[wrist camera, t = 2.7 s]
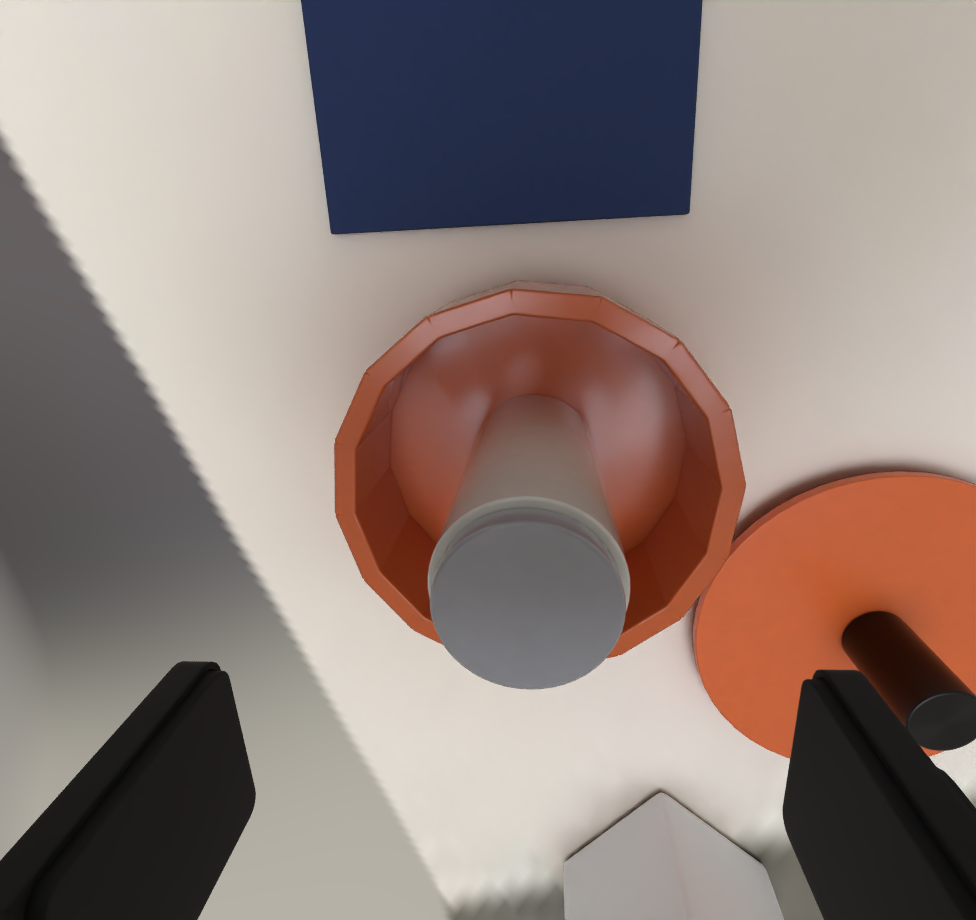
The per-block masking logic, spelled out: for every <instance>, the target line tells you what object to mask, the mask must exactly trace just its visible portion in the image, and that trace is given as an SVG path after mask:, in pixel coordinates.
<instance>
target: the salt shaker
mask: <svg viewBox="0 0 976 920" xmlns="http://www.w3.org/2000/svg"><path fill="white" fill-rule="evenodd" d="M630 590H631V589H630V575H629V570H628V565H627V561H626V558H625V554H624V550H623V546H622V543H621V539H620V535H619V531H618V528H617V524H616V520H615V516H614V513H613V509H612V505H611V501H610V498H609V494H608V490H607V486H606V483H605V479H604V475H603V471H602V468H601V464H600V460H599V456H598V453H597V449H596V445H595V441H594V438H593V435H592V432H591V430H590V428H589V426H588V424H587V423H586V421H585V420H584V418H583V417H582V416H581V415H580V414H579V413H578V412H577V411H576V410H575V409H574V408H572V407H571V406H569V405H568V404H566V403H565V402H563V401H560V400H558V399H555V398H552V397H549V396H543V395H526V396H520V397H516V398H513V399H510V400H508V401H506V402H504V403H502V404H501V405H499V406H498V407H496V408H495V409H494V410H493V411H491V412H490V413H489V414H488V416H487V417H486V418H485V419H484V421H483V422H482V424H481V425H480V427H479V429H478V432H477V434H476V437H475V439H474V442H473V445H472V448H471V450H470V453H469V456H468V458H467V461H466V464H465V467H464V469H463V472H462V475H461V477H460V480H459V483H458V486H457V488H456V491H455V494H454V497H453V499H452V502H451V505H450V507H449V510H448V513H447V516H446V518H445V521H444V524H443V526H442V529H441V532H440V535H439V537H438V540H437V543H436V545H435V548H434V551H433V554H432V557H431V560H430V564H429V569H428V593H429V598H430V610H431V616H432V620H433V624H434V627H435V630H436V632H437V634H438V636H439V638H440V640H441V642H442V643H443V645H444V646H445V648H446V649H447V650H448V652H449V653H450V654H451V655H452V656H453V657H454V658H455V659H456V660H457V661H458V662H459V663H460V664H461V665H462V666H464V667H465V668H466V669H468V670H469V671H471V672H472V673H474V674H476V675H477V676H479V677H481V678H483V679H485V680H488V681H490V682H493V683H496V684H499V685H502V686H506V687H512V688H518V689H544V688H552V687H556V686H560V685H564V684H567V683H569V682H572V681H575V680H577V679H579V678H581V677H583V676H585V675H586V674H588V673H589V672H591V671H592V670H594V669H595V668H596V667H597V666H598V665H599V664H601V663H602V662H603V661H604V660H605V659H606V657H607V656H608V655H609V654H610V653H611V651H612V650H613V648H614V646H615V645H616V643H617V641H618V639H619V637H620V635H621V632H622V629H623V626H624V622H625V615H626V611H627V607H628V604H629V599H630Z"/></svg>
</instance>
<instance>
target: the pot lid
mask: <svg viewBox="0 0 976 920" xmlns="http://www.w3.org/2000/svg"><path fill="white" fill-rule="evenodd" d="M693 648H694V655H695V661H696V665H697V668H698V671H699V674H700V677H701V680H702V682H703V685H704V687H705V689H706V691H707V693H708V695H709V697H710V699H711V700H712V702H713V703H714V705H715V706H716V707H717V709H718V710H719V711H720V713H721V714H722V715H723V716H724V717H725V718H726V719H727V720H728V721H729V722H730V723H731V724H732V725H733V726H734V727H735V728H736V729H737V730H738V731H740V732H741V733H742V734H744V735H745V736H746V737H748V738H749V739H750V740H752V741H754V742H755V743H757V744H759V745H761V746H762V747H764V748H766V749H768V750H770V751H773V752H775V753H777V754H780V755H782V756H784V757H787V758H790V757H791V751H792V744H793V738H794V731H795V725H796V718H797V712H798V705H799V699H800V692H801V686H802V682H803V681H804V680H806V679H812V678H813V674H814V673H815V671H816V670H820V669H824V670H857V671H860V672H861V673H862V674H863V675H864V676H865V677H866V678H867V679H868V680H869V682H870V683H871V684H872V686H873V687H874V688H875V689H876V691H877V692H878V693H879V694H880V696H881V697H882V698H883V700H884V701H885V702H886V703H887V705H888V706H889V707H890V708H891V710H892V711H893V712H894V714H895V715H896V716H897V717H898V719H899V720H900V721H901V722H902V724H903V725H904V726H905V728H906V729H907V730H908V731H909V733H910V734H911V735H912V736H913V738H914V739H915V740H916V742H917V743H918V744H919V745H920V747H921V748H922V749H923V751H924V752H925V753H926V754H927V756H928V757H929V756H932V755H935V754H938V753H941V752H943V751H946V750H953V749H957V748H960V747H962V746H965V745H967V744H969V743H970V742H972V741H973V740H975V739H976V485H975V484H973V483H970V482H966V481H963V480H960V479H957V478H953V477H950V476H944V475H938V474H932V473H926V472H905V471H896V472H882V473H870V474H865V475H859V476H854V477H848V478H844V479H841V480H838V481H834V482H831V483H827V484H824V485H821V486H818V487H816V488H814V489H811V490H809V491H807V492H804V493H802V494H799V495H797V496H795V497H793V498H792V499H790V500H788V501H786V502H784V503H783V504H781V505H779V506H777V507H775V508H774V509H772V510H771V511H770V512H768V513H767V514H765V515H764V516H763V517H761V518H760V519H758V520H757V521H756V522H754V523H753V524H752V525H751V526H750V527H749V528H748V529H747V530H745V531H744V532H743V533H742V534H741V535H740V536H739V537H738V538H737V539H736V540H735V541H734V542H733V543H732V545H731V548H730V552H729V556H728V559H726V562H725V564H724V565H723V566H722V567H721V569H720V570H719V571H718V573H717V574H716V575H715V576H714V578H713V579H712V580H711V582H710V583H709V584H708V585H707V587H706V588H705V589H704V591H703V592H702V593H701V595H700V598H699V602H698V605H697V608H696V613H695V619H694V625H693Z"/></svg>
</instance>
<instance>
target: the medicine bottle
mask: <svg viewBox="0 0 976 920" xmlns="http://www.w3.org/2000/svg"><path fill="white" fill-rule="evenodd" d="M563 876H564V908H565V920H784V918H783V915H782V912H781V910H780V907H779V904H778V901H777V899H776V896H775V893H774V890H773V887H772V885H771V882H770V879H769V876H768V874H767V871H766V869H765V867H764V866H763V865H762V864H761V863H760V862H758V861H757V860H756V859H754V858H753V857H751V856H750V855H749V854H747V853H746V852H745V851H743V850H742V849H741V848H739V847H738V846H736V845H735V844H734V843H732V842H731V841H730V840H728V839H727V838H725V837H724V836H723V835H721V834H720V833H719V832H717V831H716V830H715V829H713V828H712V827H710V826H709V825H708V824H706V823H705V822H704V821H702V820H701V819H699V818H698V817H697V816H695V815H694V814H693V813H691V812H690V811H689V810H687V809H686V808H684V807H683V806H682V805H680V804H679V803H678V802H676V801H675V800H674V799H672V798H671V797H669V796H668V795H667V794H664V793H658V794H656V795H655V796H653V797H652V798H651V799H649V800H648V801H647V802H645V803H644V804H643V805H641V806H640V807H639V808H637V809H636V810H635V811H633V812H632V813H630V814H629V815H628V816H626V817H625V818H624V819H622V820H621V821H620V822H618V823H617V824H616V825H614V826H613V827H612V828H610V829H609V830H607V831H606V832H605V833H603V834H602V835H601V836H599V837H598V838H597V839H595V840H594V841H593V842H591V843H590V844H589V845H587V846H586V847H584V848H583V849H582V850H580V851H579V852H578V853H576V854H575V855H574V856H572V857H571V858H570V859H568V860H567V861H566V862H565V863H564V866H563Z"/></svg>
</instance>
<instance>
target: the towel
mask: <svg viewBox="0 0 976 920" xmlns="http://www.w3.org/2000/svg"><path fill="white" fill-rule="evenodd" d="M301 4H302V12H303V19H304V27H305V35H306V43H307V50H308V58H309V66H310V74H311V81H312V89H313V97H314V105H315V112H316V120H317V128H318V136H319V143H320V151H321V159H322V167H323V174H324V182H325V190H326V198H327V205H328V213H329V221H330V229H331V233H332V234H348V233H366V232H383V231H401V230H419V229H436V228H454V227H472V226H489V225H507V224H525V223H542V222H560V221H578V220H595V219H613V218H631V217H648V216H666V215H684V214H688V213H689V211H690V195H691V178H692V162H693V146H694V129H695V113H696V97H697V81H698V64H699V48H700V32H701V15H702V0H301Z"/></svg>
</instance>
